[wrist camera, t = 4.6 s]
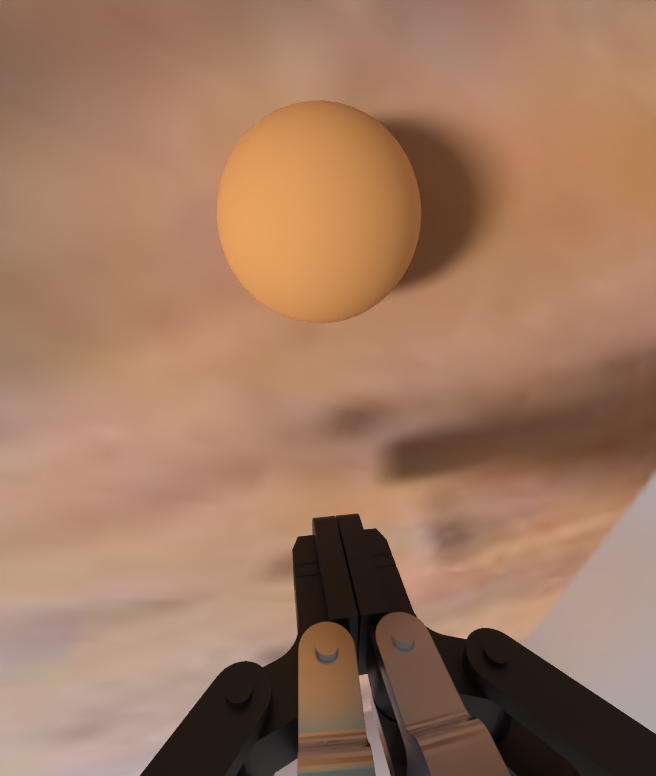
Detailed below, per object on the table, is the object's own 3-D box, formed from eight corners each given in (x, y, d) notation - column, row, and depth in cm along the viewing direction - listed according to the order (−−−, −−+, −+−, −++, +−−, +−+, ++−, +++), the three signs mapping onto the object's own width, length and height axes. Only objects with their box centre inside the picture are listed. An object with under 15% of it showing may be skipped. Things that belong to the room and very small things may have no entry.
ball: (233, 304, 13) (218, 352, 8) (217, 122, 11) (185, 56, 6) (382, 300, 14) (442, 343, 9) (392, 128, 12) (476, 74, 7)
